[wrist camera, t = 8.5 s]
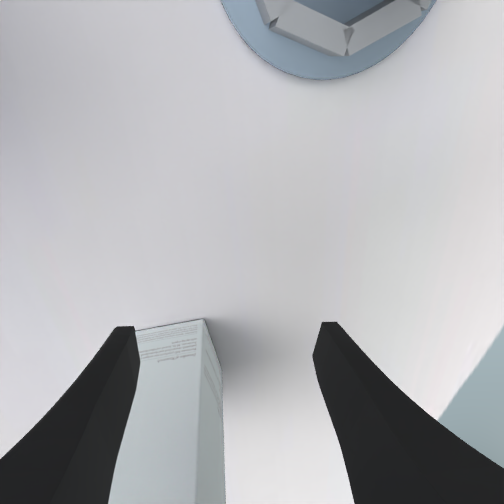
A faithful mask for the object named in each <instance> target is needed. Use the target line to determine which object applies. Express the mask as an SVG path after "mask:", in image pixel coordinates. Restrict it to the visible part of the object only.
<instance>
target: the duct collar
mask: <svg viewBox="0 0 504 504" xmlns="http://www.w3.org/2000/svg"><path fill="white" fill-rule="evenodd" d="M221 2H222V4H223V6H224V8H225V10H226V12H227V14H228V17H229V19H230V20H231V22H232V24H233V25H234V27H235V28H236V30H237V31H238V33H239V34H240V36H241V37H242V38H243V39H244V41H245V42H246V43H247V44H248V45H249V47H250V48H251V49H252V50H253V51H255V52H256V53H257V54H258V55H259V56H260V57H261V58H262V59H264V60H265V61H267V62H268V63H270V64H271V65H272V66H274V67H276V68H278V69H280V70H282V71H284V72H286V73H289V74H293V75H296V76H299V77H303V78H309V79H316V80H320V79H336V78H342V77H346V76H349V75H353V74H356V73H359V72H361V71H363V70H365V69H367V68H369V67H371V66H373V65H375V64H376V63H378V62H379V61H381V60H383V59H384V58H386V57H387V56H388V55H389V54H391V53H392V52H393V51H394V50H396V49H397V48H398V47H399V46H400V45H401V44H402V43H403V42H404V41H405V40H406V39H407V38H408V37H409V36H410V35H411V34H412V33H413V32H414V31H415V29H416V28H417V27H418V26H419V25H420V23H421V22H422V21H423V20H424V18H425V17H426V15H427V14H428V12H429V11H430V9H431V8H432V6H433V5H434V3H435V2H436V0H221Z"/></svg>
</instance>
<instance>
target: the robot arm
mask: <svg viewBox="0 0 504 504" xmlns="http://www.w3.org/2000/svg"><path fill="white" fill-rule="evenodd" d="M313 361H314V366H315V370H316V375H317V379H318V383H319V386H320V389H321V392H322V394H323V397H324V400H325V403H326V406H327V409H328V412H329V414H330V417H331V420H332V423H333V426H334V429H335V432H336V434H337V437H338V440H339V444H340V447H341V450H342V454H343V458H344V462H345V466H346V470H347V473H348V477H349V482H350V486H351V490H352V494H353V499H354V503H355V504H504V468H502V467H501V466H499V465H497V464H496V463H494V462H493V461H491V460H490V459H489V458H487V457H486V456H484V455H483V454H481V453H479V452H478V451H477V450H475V449H474V448H472V447H471V446H470V445H468V444H467V443H465V442H464V441H463V440H461V439H460V438H459V437H457V436H456V435H455V434H453V433H452V432H451V431H449V430H448V429H447V428H445V427H444V426H443V425H441V424H440V423H439V422H438V421H436V420H435V419H434V418H433V417H431V416H430V415H429V414H428V413H426V412H425V411H424V410H423V409H422V408H421V407H419V406H418V405H417V404H416V403H415V402H414V401H412V400H411V399H410V398H409V397H408V396H407V395H406V394H405V393H404V392H402V391H401V390H400V389H399V388H398V387H397V386H396V385H395V384H394V383H393V382H392V381H391V380H390V379H389V378H388V377H387V376H386V375H385V374H384V373H383V372H382V371H381V370H380V369H379V368H378V367H377V366H376V365H375V364H374V363H373V362H372V361H371V360H370V358H369V357H368V356H367V355H366V354H365V353H364V352H363V351H362V350H361V349H360V348H359V346H358V345H357V344H356V343H355V342H354V341H353V340H352V339H351V337H350V336H349V335H348V334H347V333H346V332H345V331H344V329H343V328H342V327H341V326H340V325H339V324H338V323H337V322H322V324H321V328H320V331H319V335H318V338H317V342H316V345H315V349H314V352H313ZM140 363H141V362H140V356H139V350H138V345H137V339H136V334H135V328H134V326H122V327H116V328H115V329H114V330H113V331H112V333H111V334H110V336H109V337H108V338H107V340H106V341H105V343H104V344H103V345H102V347H101V348H100V350H99V351H98V352H97V354H96V355H95V356H94V358H93V359H92V360H91V362H90V363H89V364H88V365H87V367H86V368H85V369H84V370H83V372H82V373H81V374H80V375H79V377H78V378H77V379H76V380H75V382H74V383H73V384H72V385H71V386H70V387H69V389H68V390H67V391H66V392H65V393H64V394H63V396H62V397H61V398H60V399H59V400H58V401H57V402H56V404H55V405H54V406H53V407H52V408H51V409H50V410H49V411H48V412H47V413H46V415H45V416H44V417H43V418H42V419H41V420H40V421H39V422H38V423H37V424H36V425H35V426H34V427H33V428H32V429H31V430H30V431H29V432H28V433H27V434H26V435H25V436H24V437H23V438H22V439H21V440H20V441H19V442H18V443H17V444H16V445H15V446H14V447H13V448H12V449H11V450H9V451H8V452H7V453H6V454H5V455H4V456H3V457H2V458H1V459H0V504H108V501H109V496H110V491H111V485H112V480H113V475H114V470H115V465H116V461H117V457H118V453H119V450H120V446H121V442H122V439H123V435H124V432H125V428H126V425H127V421H128V418H129V414H130V410H131V407H132V403H133V400H134V396H135V392H136V388H137V382H138V376H139V370H140Z"/></svg>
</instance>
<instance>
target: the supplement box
mask: <svg viewBox="0 0 504 504" xmlns="http://www.w3.org/2000/svg"><path fill="white" fill-rule="evenodd" d="M135 334H136V339H137V345H138V350H139V356H140V362H141V363H140V370H139V376H138V382H137V388H136V392H135V396H134V400H133V403H132V407H131V410H130V414H129V418H128V421H127V425H126V428H125V432H124V435H123V439H122V442H121V446H120V450H119V453H118V457H117V461H116V465H115V470H114V475H113V480H112V485H111V491H110V496H109V501H108V504H226V495H225V464H224V431H223V400H222V370H221V367H220V363H219V360H218V358H217V355H216V352H215V349H214V346H213V343H212V341H211V338H210V335H209V332H208V329H207V326H206V324H205V321H204V320H203V319H201V320H195V321H189V322H184V323H178V324H173V325H167V326H162V327H156V328H151V329H146V330H140V331H135Z"/></svg>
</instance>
